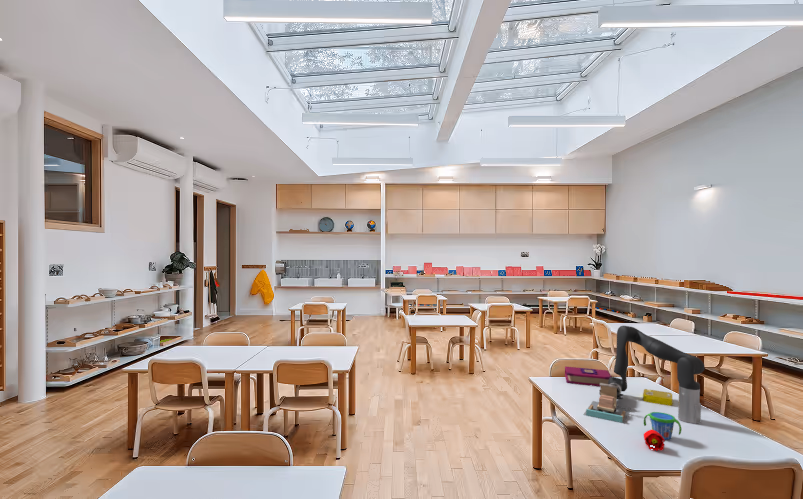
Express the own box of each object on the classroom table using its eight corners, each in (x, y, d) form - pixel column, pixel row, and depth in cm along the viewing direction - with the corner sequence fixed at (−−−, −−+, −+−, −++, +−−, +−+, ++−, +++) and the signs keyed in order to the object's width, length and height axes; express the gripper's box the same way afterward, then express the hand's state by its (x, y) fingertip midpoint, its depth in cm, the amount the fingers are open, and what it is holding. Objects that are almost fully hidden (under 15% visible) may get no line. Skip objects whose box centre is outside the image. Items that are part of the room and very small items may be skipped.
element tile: (672, 407, 256) (672, 398, 256) (642, 402, 264) (642, 393, 264) (672, 400, 269) (672, 392, 269) (643, 395, 277) (643, 387, 277)
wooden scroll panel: (599, 408, 248) (600, 382, 248) (617, 411, 243) (617, 385, 243) (595, 414, 239) (596, 387, 239) (614, 418, 234) (614, 390, 234)
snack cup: (639, 434, 214) (640, 413, 214) (649, 429, 221) (649, 408, 221) (675, 445, 202) (676, 423, 202) (684, 440, 209) (684, 418, 209)
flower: (664, 434, 202) (668, 440, 194) (656, 448, 203) (660, 455, 195) (647, 424, 204) (650, 430, 197) (638, 438, 205) (641, 445, 198)
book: (564, 375, 318) (564, 364, 318) (607, 379, 310) (607, 368, 310) (566, 383, 297) (566, 372, 297) (612, 388, 289) (612, 376, 289)
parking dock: (592, 401, 260) (593, 395, 260) (631, 409, 249) (631, 402, 249) (583, 415, 237) (583, 409, 237) (624, 424, 226) (625, 417, 226)
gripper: (601, 382, 263) (595, 389, 249) (626, 386, 256) (622, 393, 242) (601, 394, 263) (595, 402, 249) (625, 399, 256) (621, 407, 242)
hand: (608, 398), depth 245 cm, fingers closed
